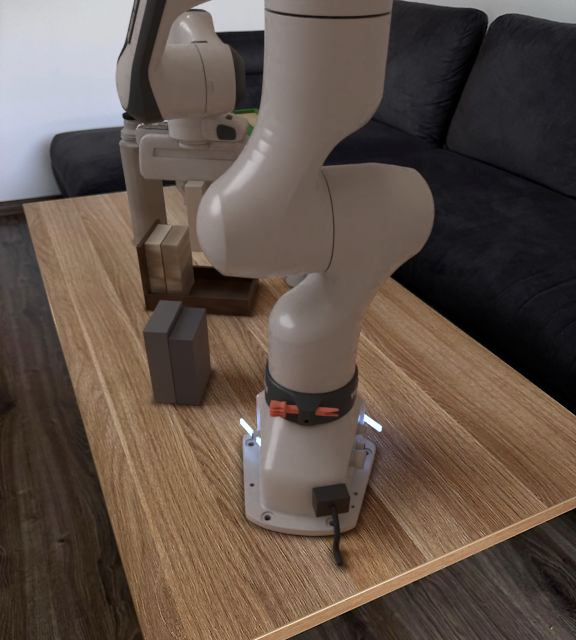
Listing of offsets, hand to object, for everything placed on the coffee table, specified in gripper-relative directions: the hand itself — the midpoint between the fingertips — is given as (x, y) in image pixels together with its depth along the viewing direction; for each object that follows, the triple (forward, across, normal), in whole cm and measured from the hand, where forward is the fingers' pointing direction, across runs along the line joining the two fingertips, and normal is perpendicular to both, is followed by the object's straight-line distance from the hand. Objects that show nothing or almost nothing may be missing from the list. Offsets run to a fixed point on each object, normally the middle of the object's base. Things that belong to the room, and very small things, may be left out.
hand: (201, 204), depth 106 cm
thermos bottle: (+19, -19, +25) cm, 37 cm away
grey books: (+19, +2, -29) cm, 35 cm away
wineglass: (+19, +18, +9) cm, 28 cm away
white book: (+7, 0, 0) cm, 7 cm away
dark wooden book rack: (+19, -1, 0) cm, 19 cm away
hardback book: (+19, +4, +40) cm, 45 cm away
